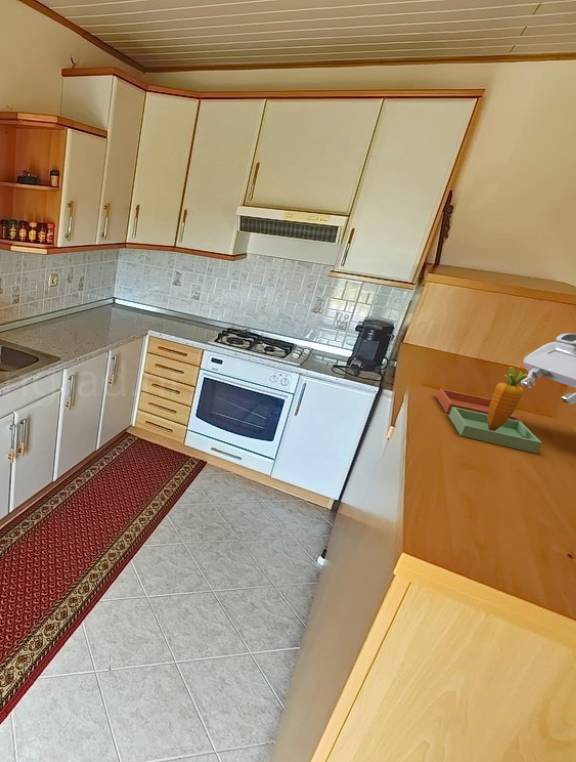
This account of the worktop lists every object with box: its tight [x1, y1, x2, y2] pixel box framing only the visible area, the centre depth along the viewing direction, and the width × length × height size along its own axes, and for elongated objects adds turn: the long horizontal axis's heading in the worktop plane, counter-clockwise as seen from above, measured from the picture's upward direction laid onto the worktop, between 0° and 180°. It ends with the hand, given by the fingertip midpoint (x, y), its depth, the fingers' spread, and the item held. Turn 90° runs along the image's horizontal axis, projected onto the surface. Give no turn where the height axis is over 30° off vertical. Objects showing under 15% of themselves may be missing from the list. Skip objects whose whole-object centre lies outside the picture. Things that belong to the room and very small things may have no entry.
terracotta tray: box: [436, 388, 518, 421], centre depth 124 cm, size 13×13×3 cm
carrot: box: [487, 366, 528, 431], centre depth 108 cm, size 5×5×15 cm
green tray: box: [448, 407, 542, 454], centre depth 110 cm, size 13×13×3 cm
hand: (544, 393), depth 108 cm, fingers open, 8 cm apart
